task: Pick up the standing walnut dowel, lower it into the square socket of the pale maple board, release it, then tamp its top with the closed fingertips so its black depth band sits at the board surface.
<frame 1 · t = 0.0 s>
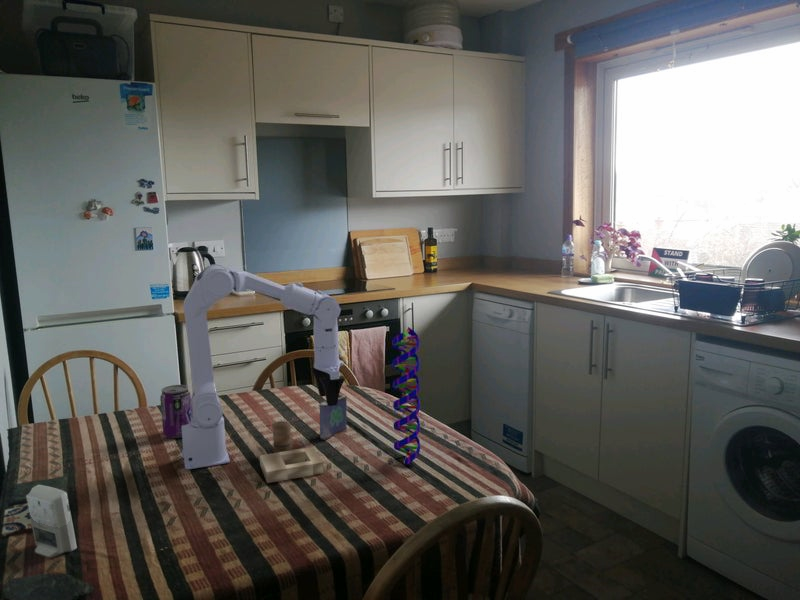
hand: (328, 400, 153), 10 cm above the table, fingers open, 7 cm apart
dna model: (407, 461, 143), on the table
beverage can: (178, 435, 160), on the table
peg: (282, 453, 147), on the table
board: (291, 469, 139), on the table
flask: (333, 434, 159), on the table, touching gripper
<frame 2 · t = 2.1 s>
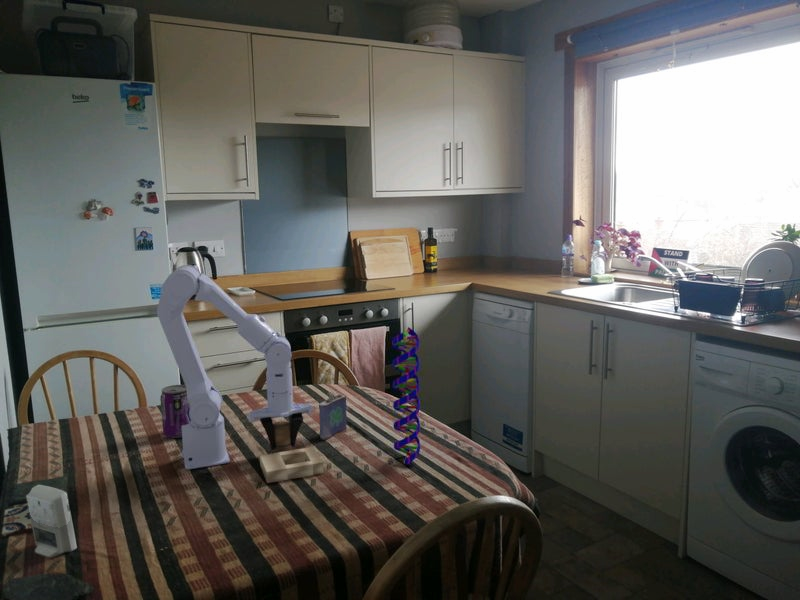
hand: (282, 446, 147), 2 cm above the table, fingers closed on peg, 4 cm apart
peg: (282, 453, 147), on the table, touching gripper
flask: (333, 434, 159), on the table
everything else where it was.
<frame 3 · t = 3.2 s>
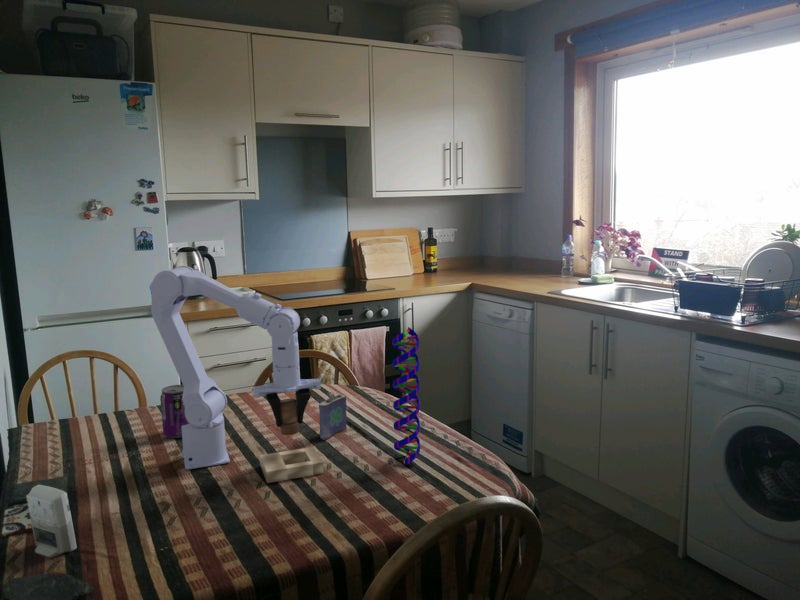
hand: (289, 423, 141), 9 cm above the table, fingers closed on peg, 4 cm apart
peg: (289, 431, 141), point 7 cm above the table, touching gripper
everything else where it was.
when the fingers open (4 cm above the table, at t = 4.8 s): peg drops 2 cm, resting in board.
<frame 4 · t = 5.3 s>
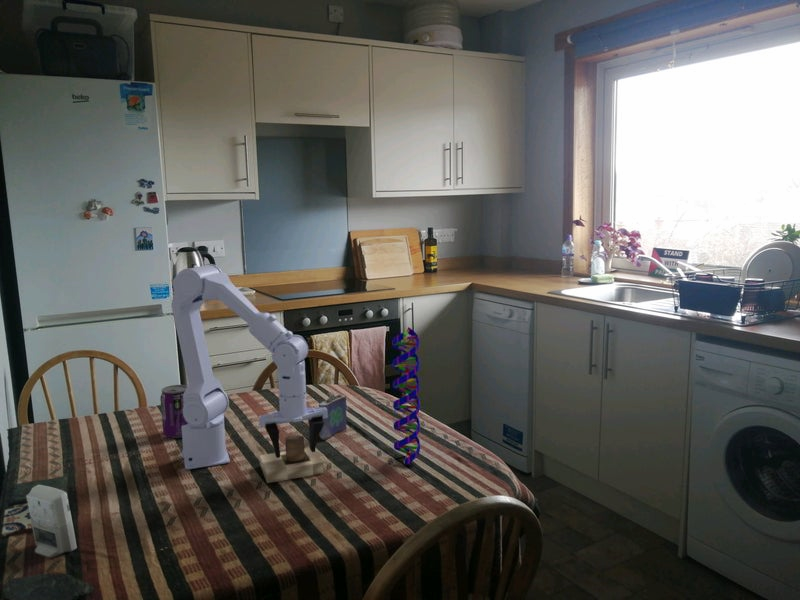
hand: (295, 453, 138), 4 cm above the table, fingers open, 7 cm apart
peg: (295, 468, 139), resting in board
everything else where it was.
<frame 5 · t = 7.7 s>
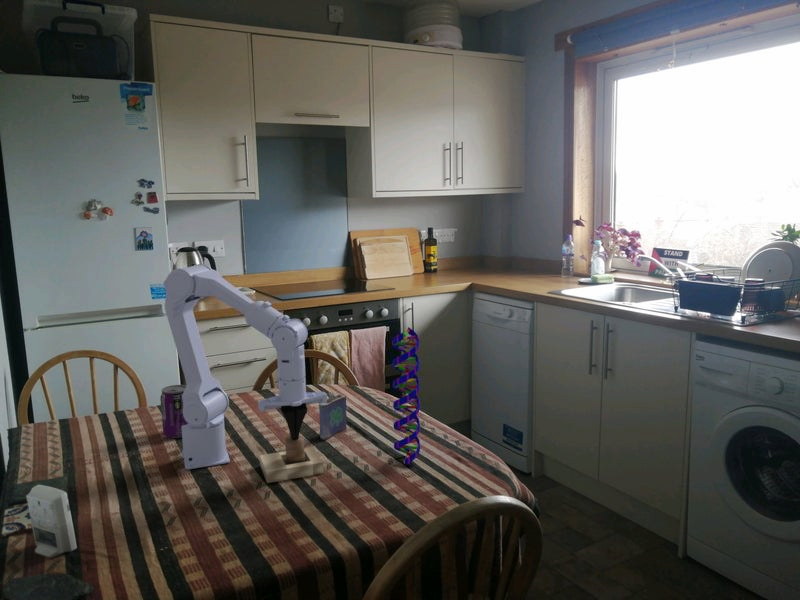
hand: (294, 437, 138), 7 cm above the table, fingers closed
nothing on the table moved.
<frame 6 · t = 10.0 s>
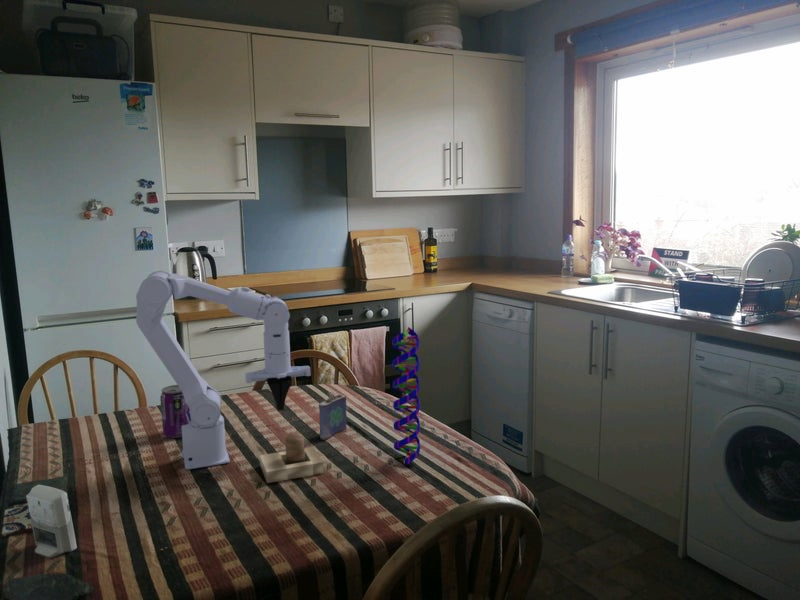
hand: (279, 408, 147), 10 cm above the table, fingers closed
nothing on the table moved.
at the end: peg 0.1 cm from the target spot on the board, point 0.0 cm above the board's base; peg tilted 0°; the gripper is holding nothing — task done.
